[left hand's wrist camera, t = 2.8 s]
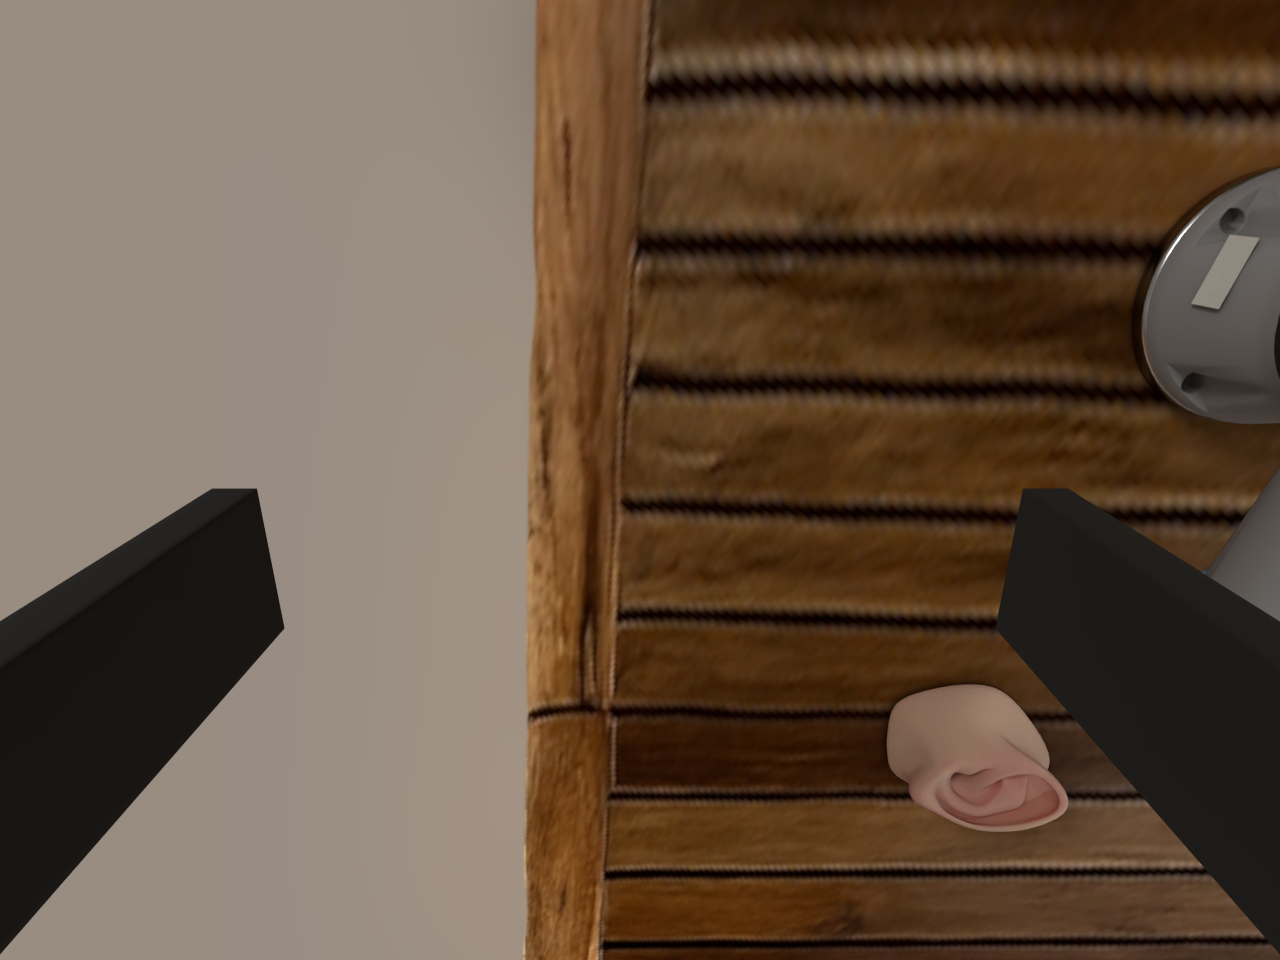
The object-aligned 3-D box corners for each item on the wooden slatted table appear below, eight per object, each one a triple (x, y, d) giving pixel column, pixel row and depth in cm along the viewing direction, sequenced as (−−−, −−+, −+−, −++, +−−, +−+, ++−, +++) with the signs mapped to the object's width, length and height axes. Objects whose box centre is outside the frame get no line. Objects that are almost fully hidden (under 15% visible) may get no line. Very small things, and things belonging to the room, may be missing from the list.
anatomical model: (878, 750, 51) (1032, 686, 49) (862, 714, 55) (1004, 653, 53) (943, 871, 55) (1088, 816, 53) (924, 830, 59) (1058, 777, 57)
